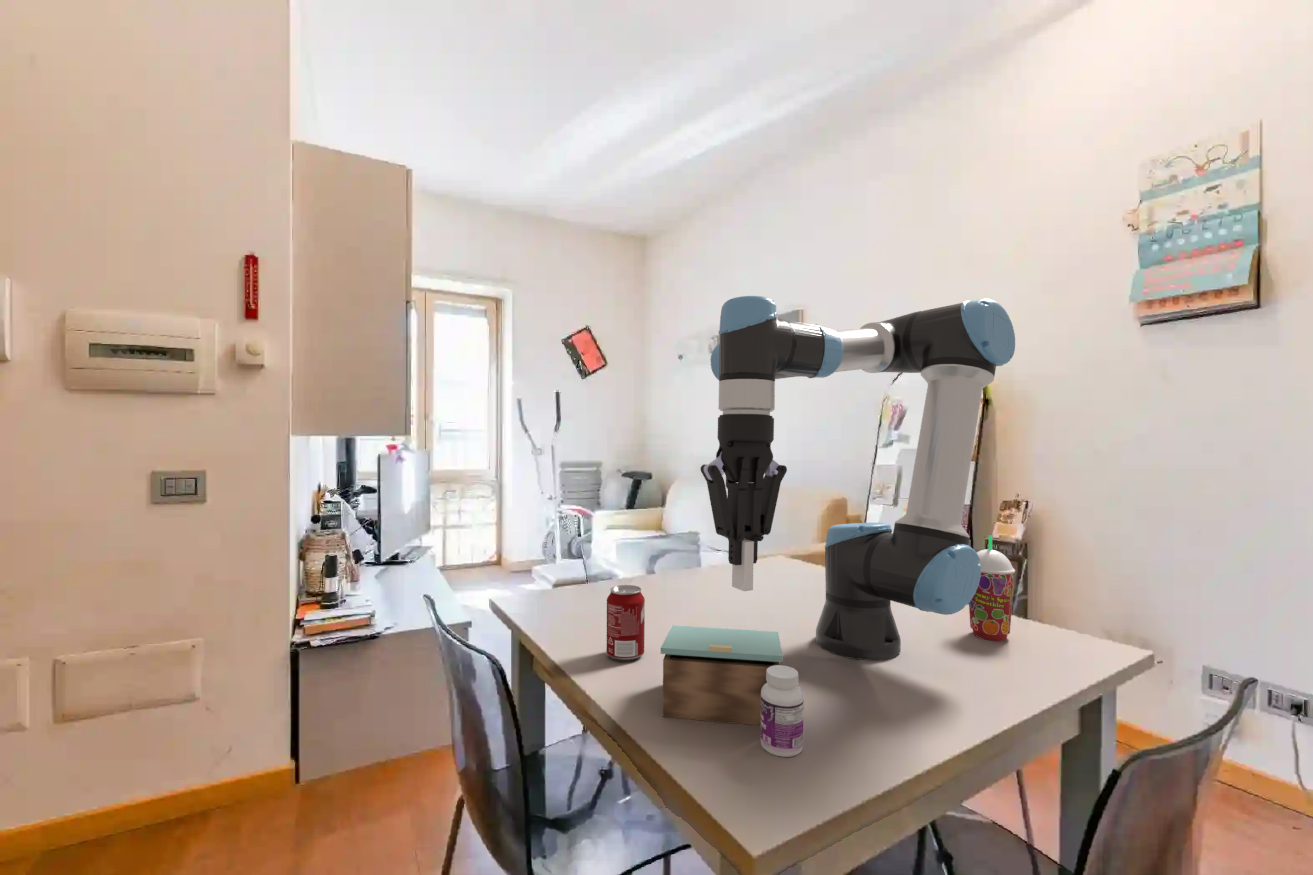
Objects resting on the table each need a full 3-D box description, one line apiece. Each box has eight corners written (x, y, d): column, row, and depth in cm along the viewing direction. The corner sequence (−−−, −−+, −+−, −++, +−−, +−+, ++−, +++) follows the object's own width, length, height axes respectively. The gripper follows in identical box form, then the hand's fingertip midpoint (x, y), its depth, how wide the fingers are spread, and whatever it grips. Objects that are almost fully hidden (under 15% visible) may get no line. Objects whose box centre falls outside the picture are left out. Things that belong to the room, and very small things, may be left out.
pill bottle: (755, 736, 75) (755, 662, 75) (795, 734, 76) (795, 661, 76) (766, 759, 70) (767, 680, 70) (809, 757, 70) (810, 679, 70)
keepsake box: (775, 688, 90) (776, 637, 90) (779, 726, 78) (780, 667, 78) (674, 681, 92) (674, 631, 92) (662, 716, 80) (663, 659, 80)
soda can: (639, 664, 99) (639, 595, 99) (601, 661, 100) (602, 592, 100) (647, 650, 105) (648, 585, 105) (612, 647, 107) (612, 583, 107)
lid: (778, 636, 89) (778, 627, 90) (782, 662, 77) (782, 651, 77) (672, 630, 92) (672, 621, 92) (660, 653, 80) (660, 643, 80)
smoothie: (968, 640, 112) (969, 537, 112) (963, 627, 120) (964, 531, 120) (1018, 646, 109) (1019, 540, 109) (1010, 632, 116) (1010, 534, 116)
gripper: (766, 416, 84) (763, 577, 84) (690, 412, 78) (686, 586, 78) (801, 414, 77) (798, 590, 77) (721, 410, 71) (717, 600, 71)
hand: (742, 588), depth 77 cm, fingers closed
